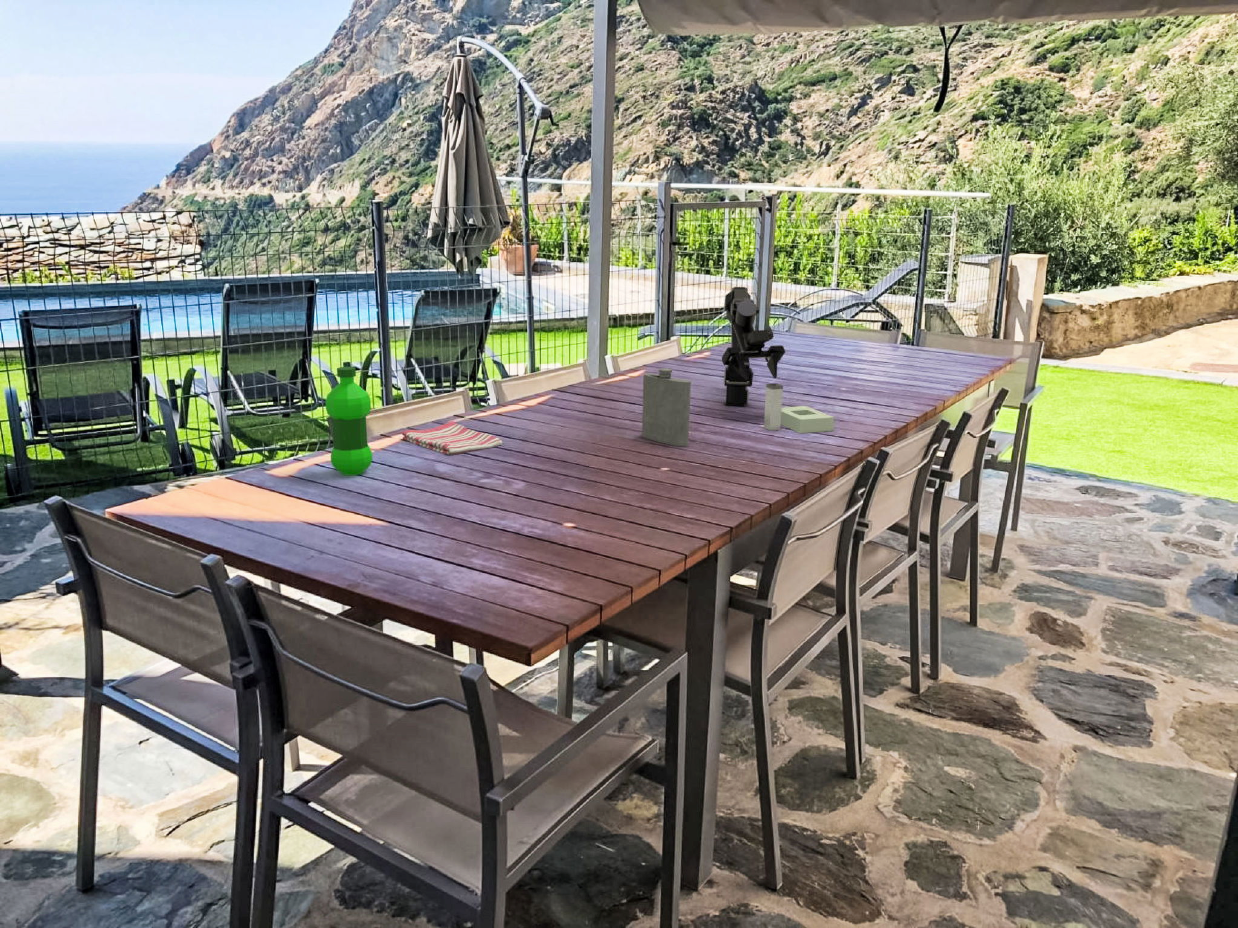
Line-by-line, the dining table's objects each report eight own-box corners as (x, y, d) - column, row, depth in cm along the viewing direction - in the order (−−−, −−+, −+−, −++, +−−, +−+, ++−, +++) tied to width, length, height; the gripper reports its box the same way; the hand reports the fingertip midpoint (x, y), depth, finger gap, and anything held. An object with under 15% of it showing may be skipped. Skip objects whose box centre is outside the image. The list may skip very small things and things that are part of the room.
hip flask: (690, 445, 257) (693, 371, 252) (681, 447, 255) (683, 373, 249) (647, 434, 268) (649, 364, 263) (637, 436, 265) (639, 365, 260)
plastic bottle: (321, 475, 224) (313, 370, 217) (348, 464, 233) (342, 363, 227) (356, 480, 220) (350, 373, 214) (383, 469, 230) (377, 366, 223)
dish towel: (452, 431, 270) (452, 419, 269) (503, 447, 254) (503, 434, 253) (400, 441, 258) (399, 428, 257) (450, 458, 242) (450, 445, 241)
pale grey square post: (763, 427, 278) (766, 383, 275) (774, 427, 279) (777, 383, 276) (769, 430, 275) (772, 386, 271) (780, 429, 276) (783, 385, 273)
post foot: (772, 421, 287) (773, 408, 286) (804, 418, 290) (805, 405, 289) (800, 433, 272) (801, 419, 271) (833, 430, 276) (834, 417, 275)
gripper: (727, 320, 278) (743, 363, 271) (784, 318, 284) (800, 361, 277) (715, 343, 287) (729, 385, 280) (770, 340, 293) (785, 382, 286)
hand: (761, 378), depth 281 cm, fingers open, 9 cm apart
